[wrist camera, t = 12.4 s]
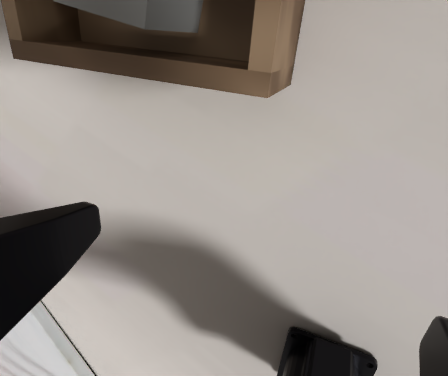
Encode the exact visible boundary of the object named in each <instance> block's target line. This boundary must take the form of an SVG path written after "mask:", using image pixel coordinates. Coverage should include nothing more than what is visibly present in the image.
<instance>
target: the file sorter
mask: <svg viewBox="0 0 448 376" xmlns="http://www.w3.org/2000/svg"><path fill="white" fill-rule="evenodd" d="M0 376H95V375H94V374H93V372H92V371H91V370H90V368H89V367H88V366H87V364H86V363H85V362H84V360H83V359H82V357H81V356H80V355H79V353H78V352H77V351H76V349H75V348H74V346H73V345H72V344H71V342H70V341H69V340H68V338H67V337H66V336H65V334H64V333H63V331H62V330H61V329H60V327H59V326H58V325H57V323H56V322H55V321H54V319H53V318H52V316H51V315H50V314H49V312H48V311H47V310H46V308H45V307H44V305H43V304H42V303H41V301H40V302H39V303H38V304H37V305H36V306H35V307H34V308H33V309H32V310H31V311H30V312H29V313H28V314H27V315H26V316H25V317H24V318H23V319H22V320H21V321H20V322H19V323H18V324H17V325H16V326H15V327H14V328H13V329H12V330H11V331H10V332H9V333H8V334H7V335H6V336H5V337H4V338H3V339H2V340H1V341H0Z"/></svg>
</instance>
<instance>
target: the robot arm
mask: <svg viewBox="0 0 448 376" xmlns="http://www.w3.org/2000/svg"><path fill="white" fill-rule="evenodd" d="M100 231H101V223H100V215H99V209H98V207H97V206H96V205H94V204H91V203H88V202H79V203H74V204H69V205H64V206H59V207H54V208H49V209H44V210H39V211H33V212H28V213H23V214H18V215H13V216H8V217H3V218H0V341H1V340H2V339H3V338H4V337H5V336H6V335H7V334H8V333H9V332H10V331H11V330H12V329H13V328H14V327H15V326H16V325H17V324H18V323H19V322H20V321H21V320H22V319H23V318H24V317H25V316H26V315H27V314H28V313H29V312H30V311H31V310H32V309H33V308H34V307H35V306H36V305H37V304H38V303H39V302H40V301H41V300H42V299H43V297H44V296H45V295H46V294H47V293H48V292H49V291H50V290H51V289H52V288H53V287H54V286H55V285H56V284H57V283H58V282H59V281H60V280H61V279H62V278H63V277H64V276H65V275H66V274H67V273H68V272H69V271H70V269H71V268H72V267H73V266H74V265H75V263H76V262H77V261H78V260H79V259H80V257H81V256H82V255H83V254H84V253H85V251H86V250H87V249H88V248H89V247H90V245H91V244H92V243H93V242H94V240H95V239H96V238H97V237H98V235H99V234H100ZM419 359H420V376H448V318H445V317H442V316H437V317H435V318H434V319H433V321H432V323H431V324H430V326H429V328H428V330H427V331H426V333H425V335H424V337H423V338H422V340H421V343H420V349H419ZM376 370H377V360H376V359H375V358H374V357H372V356H369V355H367V354H364V353H361V352H359V351H356V350H354V349H351V348H348V347H346V346H343V345H340V344H338V343H335V342H332V341H330V340H327V339H325V338H322V337H319V336H317V335H314V334H311V333H309V332H306V331H304V330H301V329H298V328H295V327H291V328H290V329H289V332H288V336H287V339H286V343H285V347H284V351H283V354H282V358H281V362H280V366H279V370H278V373H277V376H374V374H375V372H376Z"/></svg>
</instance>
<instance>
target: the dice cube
mask: <svg viewBox="0 0 448 376" xmlns="http://www.w3.org/2000/svg"><path fill="white" fill-rule="evenodd" d="M53 1H55V2H58V3H61V4H64V5H68V6H71V7H74V8H77V9H81V10H84V11H87V12H90V13H93V14H97V15H100V16H103V17H106V18H110V19H113V20H116V21H119V22H122V23H126V24H129V25H132V26H135V27H139V28H142V29H146V30H161V31H176V32H191V33H198V29H199V23H200V17H201V11H202V5H203V0H53Z"/></svg>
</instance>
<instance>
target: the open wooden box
mask: <svg viewBox="0 0 448 376" xmlns="http://www.w3.org/2000/svg"><path fill="white" fill-rule="evenodd" d="M1 3H2V8H3V12H4V17H5V21H6V26H7V31H8V35H9V40H10V45H11V49H12V54H13V58H14V59H20V60H27V61H33V62H39V63H46V64H52V65H59V66H65V67H71V68H78V69H84V70H91V71H97V72H104V73H110V74H116V75H123V76H129V77H136V78H142V79H148V80H155V81H161V82H168V83H174V84H181V85H187V86H193V87H200V88H206V89H213V90H219V91H225V92H232V93H238V94H245V95H251V96H258V97H264V98H268V97H270V96H272V95H274V94H275V93H277V92H279V91H281V90H282V89H284V88H286V87H287V86H289V85H291V79H292V73H293V67H294V62H295V56H296V50H297V44H298V39H299V33H300V27H301V21H302V15H303V10H304V4H305V0H203V5H202V11H201V17H200V23H199V29H198V33H191V32H176V31H161V30H146V29H142V28H139V27H135V26H132V25H129V24H126V23H122V22H119V21H116V20H113V19H110V18H106V17H103V16H100V15H97V14H93V13H90V12H87V11H84V10H81V9H77V8H74V7H71V6H68V5H64V4H61V3H58V2H55V1H53V0H1Z"/></svg>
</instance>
